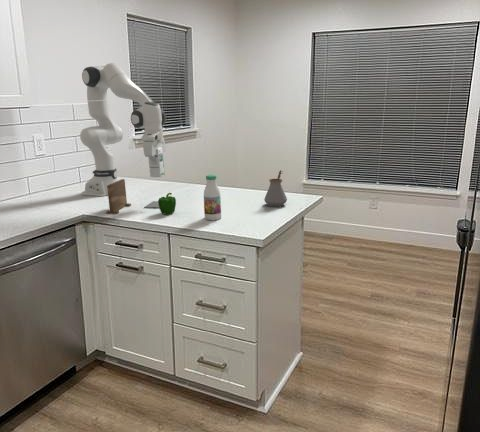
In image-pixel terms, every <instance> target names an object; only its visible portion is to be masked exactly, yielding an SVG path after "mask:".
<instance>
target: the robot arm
mask: <svg viewBox="0 0 480 432" xmlns="http://www.w3.org/2000/svg"><path fill="white" fill-rule="evenodd" d="M81 78H82V81H83V83H84V85H85V86H86V98H87V108H88V114H89V116H90V117H91V118H92V119H94V120H96V121H97V123H98V125H97V126H96V125H95V126H89V127H86V128H83V129H82V130H81V131H80V136H79V139H80V141H81V144H83V145H84V146H85V147H87V148H88V149H89V150H90V152H91V153H92V156H93V159H94V165H95V166H94V167H95V169H94V170H93V171H92V173H91V174H93V176H92V177H91V178H90V179H89V180H88V181H86V183H85V186H84V190H83V191H82V192H80V194H81V196H91V197H105V196H108V190H107V185H110V184H112V183H114V182H116V181H118V171H117V168H116V161H115V155H114V154H113V153H112V152H111V151H108V150H107V148H106V146H107V145H114V144H117V143H120V142H121V141H122V140H123V137H124V132H123V129H122V128H121V127H120V126H119V125H118V124H117V123H116V122H115V121H114V119H113V117H112V115H111V110H110V107H109V106H110V105H109V104H110V103H109V98H108V89H110V91H111V92H112V93H113V94H114V95H115V96H116V97H117V98H121V99H124V100H131V101H134V102H136V103H139V104H140V105H141V107H139V108H137V109H134V110H133V111H132V112H131V114H130V122H131V124H132V125H133V127H134V128H135V129H144V133H143V135H142V136H141V141H142V147H143V148H142V149H143V154H144V157H146V158H148V157H150V160H151V164H152V165H154V164H156V161H155V155H157V150H156V149H157V148H160V147H162V151H163V153H164V152H166V141H165V138H164V129H163V126H164V125H165V124H166V123H165V122H166V120H167V117H166V116H167V115H166V113H165V111H164V109H162V108H161V105H160V104H159V103H158V102H155V101H153V100H152V98H151V97H150V96H149V95H148V94H147V93H146V91H145V90H144V89H143V88H141V87H140V86H138V85H137V84H135V83H134V82H133V80H131V79H130V78H129V76H128V75H127V73H126V72H125V71H124V69H122V68H121V67H120V65H118V64H117V63H114V62H108V63H107V64H105V65H98V66H86V67H85V68H84V69H83V70H82V74H81Z"/></svg>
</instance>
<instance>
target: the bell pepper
mask: <svg viewBox="0 0 480 432" xmlns="http://www.w3.org/2000/svg"><path fill="white" fill-rule="evenodd" d="M172 194H173V193H172V192H168V193H167V194H166V195H165V196H161V197H160V198H158V200H157V201H158V204H159V208H158V209H159V210H160V213H161V214H164V215H166V216H167V215H172V214H173V213H175V211H176V205H177V202H176V201H177V199H176V196H171V195H172Z"/></svg>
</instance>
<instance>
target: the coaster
mask: <svg viewBox="0 0 480 432" xmlns="http://www.w3.org/2000/svg"><path fill="white" fill-rule="evenodd" d="M144 209H160V208H159V204H158V200H154V201H151V202H150V203H148V204H146V205H145V206H144Z"/></svg>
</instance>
